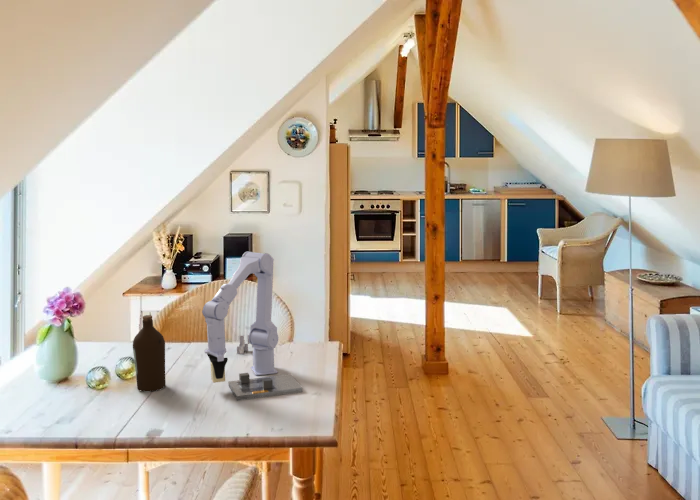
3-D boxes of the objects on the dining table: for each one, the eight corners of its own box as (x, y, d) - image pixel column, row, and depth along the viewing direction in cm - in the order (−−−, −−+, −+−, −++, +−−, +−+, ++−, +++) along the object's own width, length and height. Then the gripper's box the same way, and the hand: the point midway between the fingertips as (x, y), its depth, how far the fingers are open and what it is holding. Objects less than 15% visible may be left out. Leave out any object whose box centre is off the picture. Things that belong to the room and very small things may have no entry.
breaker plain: (239, 381, 257) (239, 373, 257) (248, 380, 258) (247, 372, 258) (240, 383, 255) (240, 375, 254) (249, 382, 256) (249, 374, 255)
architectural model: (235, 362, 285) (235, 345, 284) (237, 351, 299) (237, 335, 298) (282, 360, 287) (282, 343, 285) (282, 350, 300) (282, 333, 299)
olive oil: (170, 381, 263) (166, 312, 259) (163, 392, 253) (159, 319, 249) (139, 382, 263) (135, 312, 259) (131, 393, 252) (127, 320, 248)
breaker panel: (228, 385, 258) (228, 381, 258) (290, 378, 265) (290, 373, 265) (237, 400, 244) (236, 395, 244) (302, 391, 251) (302, 387, 251)
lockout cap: (210, 379, 254) (209, 361, 253) (223, 377, 256) (223, 359, 255) (212, 383, 250) (211, 364, 249) (226, 381, 251) (225, 363, 250)
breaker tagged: (262, 386, 252) (261, 378, 251) (270, 385, 253) (270, 377, 252) (263, 389, 249) (263, 381, 249) (272, 388, 250) (272, 380, 250)
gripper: (200, 332, 256) (202, 370, 258) (207, 344, 242) (209, 384, 245) (221, 330, 258) (223, 368, 260) (229, 341, 245) (231, 381, 247)
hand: (218, 375), depth 253 cm, fingers closed on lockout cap, 4 cm apart
